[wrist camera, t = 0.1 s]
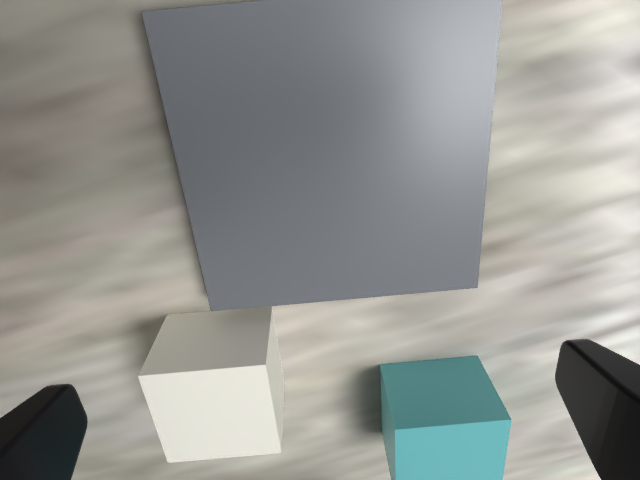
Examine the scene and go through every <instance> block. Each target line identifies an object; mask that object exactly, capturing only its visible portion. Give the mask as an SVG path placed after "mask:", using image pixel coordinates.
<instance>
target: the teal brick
mask: <svg viewBox="0 0 640 480" xmlns="http://www.w3.org/2000/svg"><path fill="white" fill-rule="evenodd" d="M380 378H381V410H382V434H383V440H384V445H385V450H386V455H387V460H388V465H389V471H390V476H391V480H502V479H503V472H504V466H505V459H506V452H507V446H508V439H509V432H510V425H511V418H510V416H509V414H508V412H507V410H506V409H505V407H504V405H503V403H502V401H501V399H500V397H499V395H498V393H497V392H496V390H495V388H494V386H493V384H492V382H491V380H490V378H489V377H488V375H487V373H486V371H485V369H484V367H483V365H482V363H481V361H480V360H479V358H478V356H469V357H458V358H446V359H435V360H423V361H412V362H401V363H389V364H380Z"/></svg>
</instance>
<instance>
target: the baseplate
mask: <svg viewBox="0 0 640 480" xmlns="http://www.w3.org/2000/svg"><path fill="white" fill-rule="evenodd" d="M501 12H502V0H260V1H249V2H238V3H228V4H217V5H206V6H195V7H185V8H174V9H163V10H153V11H142V16H143V21H144V25H145V29H146V34H147V38H148V42H149V46H150V51H151V55H152V59H153V64H154V68H155V72H156V77H157V81H158V85H159V89H160V94H161V98H162V102H163V107H164V111H165V115H166V120H167V124H168V128H169V132H170V137H171V141H172V145H173V150H174V154H175V158H176V163H177V167H178V171H179V175H180V180H181V184H182V188H183V193H184V197H185V201H186V206H187V210H188V214H189V218H190V223H191V227H192V231H193V236H194V240H195V244H196V249H197V253H198V257H199V261H200V266H201V270H202V274H203V279H204V283H205V287H206V292H207V296H208V300H209V304H210V309H211V311H221V310H232V309H244V308H255V307H266V306H277V305H289V304H300V303H311V302H323V301H334V300H345V299H357V298H368V297H379V296H391V295H402V294H413V293H424V292H436V291H447V290H458V289H470V288H477V287H478V276H479V264H480V253H481V241H482V230H483V218H484V207H485V195H486V184H487V172H488V161H489V150H490V138H491V127H492V115H493V104H494V92H495V81H496V69H497V58H498V46H499V35H500V23H501Z"/></svg>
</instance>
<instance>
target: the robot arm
mask: <svg viewBox="0 0 640 480" xmlns="http://www.w3.org/2000/svg"><path fill="white" fill-rule="evenodd" d="M555 380H556V385H557V388H558V390H559V392H560V395H561V397H562V399H563V401H564V403H565V405H566V408H567V410H568V412H569V414H570V416H571V418H572V421H573V423H574V425H575V427H576V429H577V431H578V434H579V436H580V438H581V440H582V442H583V444H584V447H585V449H586V451H587V453H588V455H589V457H590V459H591V461H592V463H593V465H594V467H595V469H596V471H597V473H598V475H599V476H600V478H601V480H640V365H639V364H637V363H635V362H633V361H631V360H629V359H627V358H625V357H623V356H621V355H619V354H617V353H615V352H613V351H611V350H609V349H607V348H605V347H603V346H601V345H599V344H597V343H595V342H593V341H591V340H589V339H575V340H567V341H564V342H563V343H562V345H561V348H560V353H559V358H558V363H557V368H556V373H555ZM86 429H87V415H86V412H85V410H84V408H83V405H82V403H81V401H80V398H79V396H78V394H77V392H76V389H75V388H74V387H73V386H72V385H71V384H59V385H50V386H47V387H45V388H43V389H42V390H40V391H39V392H37V393H36V394H34V395H33V396H32V397H30V398H29V399H27V400H26V401H24V402H23V403H21V404H20V405H19V406H17V407H16V408H14V409H13V410H11V411H10V412H9V413H7V414H6V415H4V416H3V417H1V418H0V480H71V478H72V475H73V472H74V468H75V465H76V462H77V459H78V455H79V452H80V449H81V446H82V442H83V439H84V436H85V433H86Z"/></svg>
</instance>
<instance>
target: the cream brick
mask: <svg viewBox="0 0 640 480" xmlns="http://www.w3.org/2000/svg"><path fill="white" fill-rule="evenodd" d="M138 378H139V381H140V384H141V387H142V390H143V393H144V395H145V398H146V401H147V404H148V407H149V410H150V413H151V415H152V418H153V421H154V424H155V427H156V430H157V433H158V436H159V438H160V441H161V444H162V447H163V450H164V453H165V456H166V459H167V461H168V463H172V462H183V461H195V460H206V459H218V458H229V457H240V456H252V455H263V454H275V453H281V451H282V432H283V413H284V394H285V382H284V376H283V369H282V363H281V357H280V350H279V344H278V337H277V331H276V325H275V318H274V312H273V306H266V307H255V308H244V309H232V310H221V311H203V312H192V313H181V314H170V315H167V316H166V318H165V320H164V322H163V324H162V327H161V329H160V331H159V333H158V335H157V337H156V339H155V341H154V343H153V345H152V347H151V350H150V352H149V354H148V356H147V358H146V360H145V362H144V364H143V366H142V368H141V370H140V373H139V375H138Z"/></svg>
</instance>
